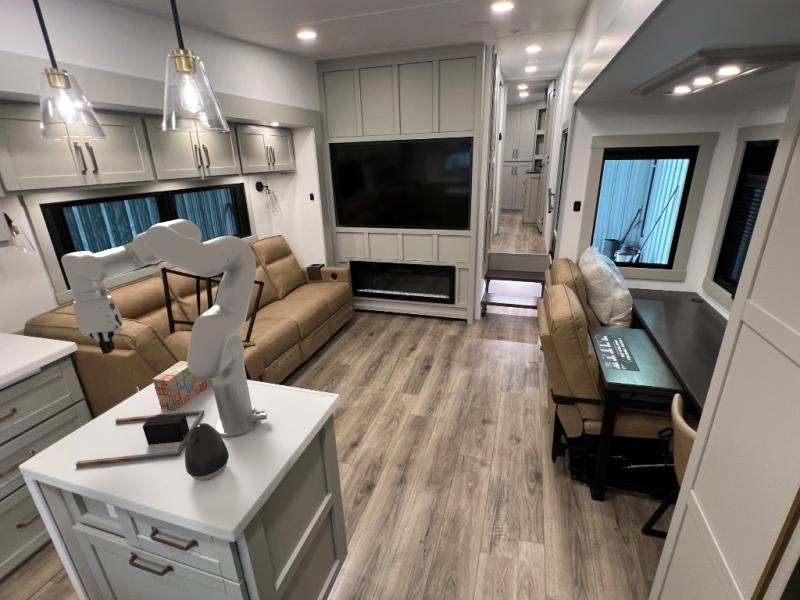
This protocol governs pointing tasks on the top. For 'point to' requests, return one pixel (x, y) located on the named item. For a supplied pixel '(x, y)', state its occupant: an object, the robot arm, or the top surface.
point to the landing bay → (182, 445)
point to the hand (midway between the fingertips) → (108, 351)
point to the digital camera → (165, 429)
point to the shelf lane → (114, 459)
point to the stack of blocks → (177, 386)
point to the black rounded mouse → (205, 453)
